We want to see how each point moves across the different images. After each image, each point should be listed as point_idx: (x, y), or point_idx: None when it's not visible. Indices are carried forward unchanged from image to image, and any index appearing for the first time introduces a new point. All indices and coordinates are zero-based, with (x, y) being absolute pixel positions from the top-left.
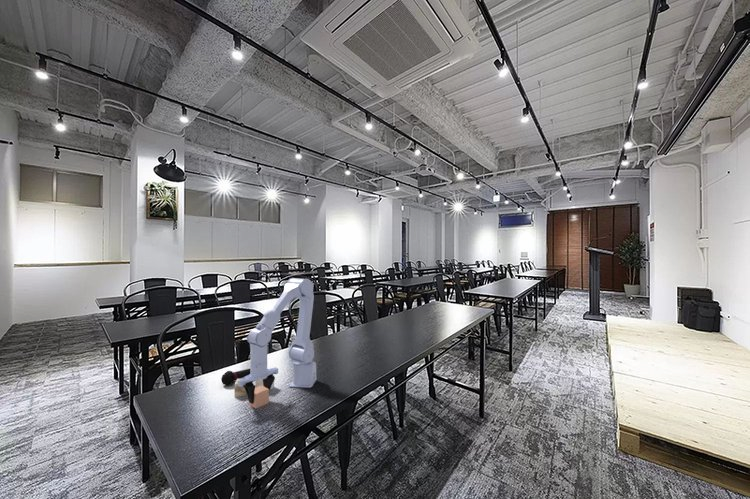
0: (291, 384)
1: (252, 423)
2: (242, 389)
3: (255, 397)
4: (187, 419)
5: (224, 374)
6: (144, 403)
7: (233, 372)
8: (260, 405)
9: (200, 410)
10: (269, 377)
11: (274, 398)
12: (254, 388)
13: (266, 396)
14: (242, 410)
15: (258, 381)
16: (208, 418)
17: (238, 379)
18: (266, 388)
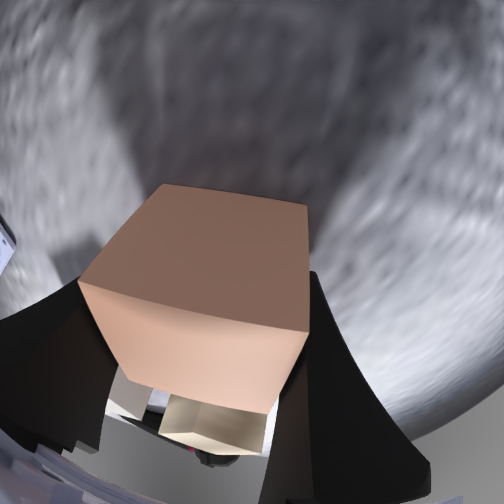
0: (4, 249)
1: (489, 45)
2: (233, 410)
3: (307, 294)
4: (471, 377)
5: (228, 465)
6: None
7: (192, 451)
8: (251, 201)
9: (412, 396)
10: (6, 413)
11: (100, 208)
12: (322, 445)
13: (152, 229)
14: (375, 277)
15: (132, 398)
16: (472, 342)
17: (216, 452)
18: (100, 316)
